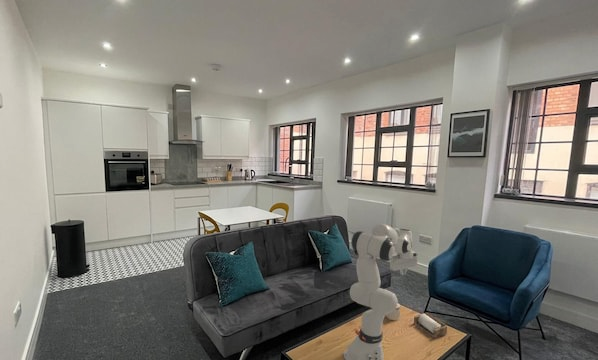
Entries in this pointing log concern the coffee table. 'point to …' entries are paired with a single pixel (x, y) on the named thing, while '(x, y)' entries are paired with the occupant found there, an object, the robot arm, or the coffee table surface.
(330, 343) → the coffee table surface
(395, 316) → the teacup with lid
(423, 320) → the roll
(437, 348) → the coffee table surface
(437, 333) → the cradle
